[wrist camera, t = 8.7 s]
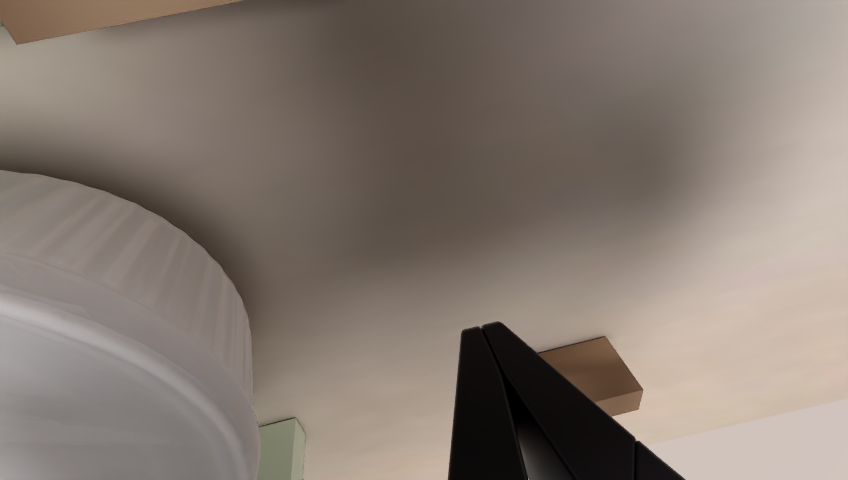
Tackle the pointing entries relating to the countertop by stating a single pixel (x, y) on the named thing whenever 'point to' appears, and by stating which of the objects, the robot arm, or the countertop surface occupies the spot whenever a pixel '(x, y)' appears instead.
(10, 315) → the ramekin
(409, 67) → the countertop surface
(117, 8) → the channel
